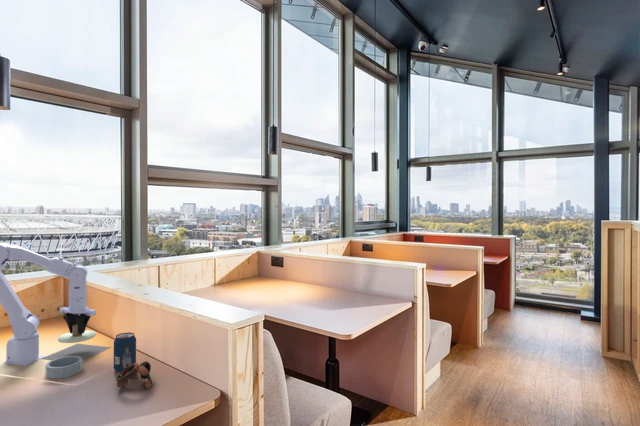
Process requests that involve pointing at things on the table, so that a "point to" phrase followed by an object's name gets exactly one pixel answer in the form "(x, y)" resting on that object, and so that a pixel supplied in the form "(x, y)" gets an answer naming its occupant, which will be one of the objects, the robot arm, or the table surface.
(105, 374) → the table surface
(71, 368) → the bowl
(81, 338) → the lid
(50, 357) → the mat
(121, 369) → the soda can
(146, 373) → the brown lumpy object
